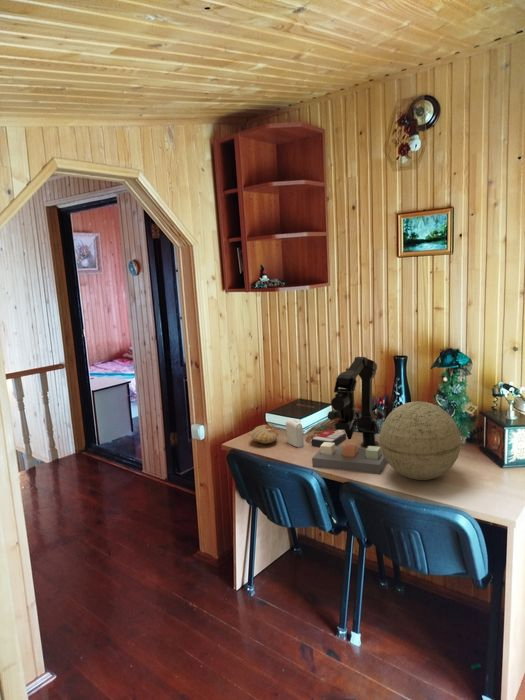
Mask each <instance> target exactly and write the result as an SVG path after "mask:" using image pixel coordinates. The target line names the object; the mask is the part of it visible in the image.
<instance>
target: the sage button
mask: <svg viewBox="0 0 525 700" xmlns="http://www.w3.org/2000/svg"><path fill="white" fill-rule="evenodd" d="M366 448H367V449H366V459H376V460H379V459H380V457H381V446H377V445H376V446H368V447H366Z"/></svg>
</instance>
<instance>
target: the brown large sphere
mask: <svg viewBox="0 0 525 700" xmlns="http://www.w3.org/2000/svg"><path fill="white" fill-rule="evenodd" d="M379 433H380V434H379V445H380V447H381V450H382V452H383V455H384V457H385V459H386V460H387V464H388V465H389V466H391V468H392V469H393V470H394V471H395V472H396V473H399V474H400V475H402V476H403V477H406V478H409V479H413V480H418V481H427V480H433V479H437V478H439V477H441V476H442V475H444V474H446V473H448V471H449V470H450V469H451V468H452V467H453V466H454V465H455V463H456V462H457V459H458V457H459V455H460V452H461V444H462V443H461V441H462V440H461V439H462V438H461V433H460V431H459V428H458V426H457V424H456V422H455V420H454V419H453V417H452V416H451V415H450V414H449V413H448V412H447V411H446V410H444V409H443V408H442V407H440V406H439V405H436V404H433V403H431V402H427V401H411V402H406V403H404V404H401V405H399V406H397V407H396V408H394V409H393V410H392V411H391V412H389V414H388V415H387V416H386V418H385V419H384V422H383V423H382V425H381V428H380V431H379Z"/></svg>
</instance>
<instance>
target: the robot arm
mask: <svg viewBox="0 0 525 700" xmlns="http://www.w3.org/2000/svg"><path fill="white" fill-rule="evenodd" d="M377 370H378V364H377V362H375V361H374V360H372V359H370V358H369V359H368V357H366V356H355V357H354V360H353V362H352V363H351V365H350V366H349V367H348V368H347V370H346V371H343V372H341V373H339V375H337V377H336V378H335V379H336V380H335V385H334V390H333V393H335V395H334V397H333V398H332V399H331V402H330V405H331V407H332V409H333V410H330V411H328V413H327V419H329V420H330V422H331V421H333V420H337V419H339V420H338V421H337V422H336V423H334V430H337V431H339V430H340V431H344V433H345V434H346V438H347V440H351V439H352V437H353V434H354V432H355V429H356V427H357V432H358V433H361V434H362V443H360V447H366V448H368V446H377V444H378V441H376V434H379V433H380V426H379V424H378V423H377V421H376V420H377V419H376V415H375V414H374V412H373V379H374V378H375V376H376V374H377ZM357 377H359V378H360V380H361V411H360V410H357V409H356V410H355V408H357V405H356V404H355V390H356V386H357ZM356 417H357V418H356ZM355 419H357V420H355Z"/></svg>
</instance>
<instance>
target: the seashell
mask: <svg viewBox="0 0 525 700" xmlns="http://www.w3.org/2000/svg"><path fill="white" fill-rule="evenodd" d="M277 426H278V425H277V424H276V427H277ZM274 427H275V424H274V423H271V422H269V424H262V425H259V426H256V427H254V429H252V431H251V433H250V434H249V436H250V437H251V438H252V440H254V441H255V442H257V443H260V444H272V443H273V442H275V441H277V439H278V435H279V434H278V431H279V430H280V429H278V428H274Z"/></svg>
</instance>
